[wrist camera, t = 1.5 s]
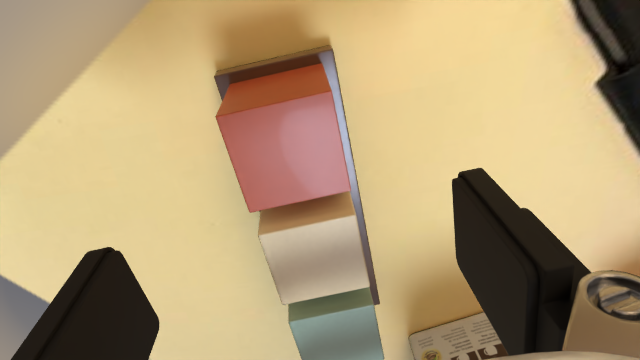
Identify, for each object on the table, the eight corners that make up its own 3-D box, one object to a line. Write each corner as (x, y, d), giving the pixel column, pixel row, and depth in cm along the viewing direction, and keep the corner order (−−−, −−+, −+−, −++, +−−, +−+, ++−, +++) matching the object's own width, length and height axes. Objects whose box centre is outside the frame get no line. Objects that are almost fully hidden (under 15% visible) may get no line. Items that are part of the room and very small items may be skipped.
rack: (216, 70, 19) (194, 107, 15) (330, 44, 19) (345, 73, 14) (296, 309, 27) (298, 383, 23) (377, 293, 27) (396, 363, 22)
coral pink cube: (229, 83, 19) (215, 116, 15) (322, 62, 18) (332, 90, 15) (256, 166, 21) (249, 213, 17) (339, 147, 21) (351, 191, 17)
